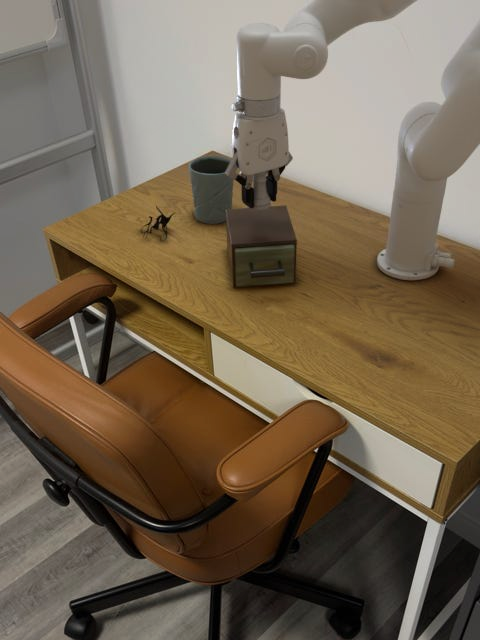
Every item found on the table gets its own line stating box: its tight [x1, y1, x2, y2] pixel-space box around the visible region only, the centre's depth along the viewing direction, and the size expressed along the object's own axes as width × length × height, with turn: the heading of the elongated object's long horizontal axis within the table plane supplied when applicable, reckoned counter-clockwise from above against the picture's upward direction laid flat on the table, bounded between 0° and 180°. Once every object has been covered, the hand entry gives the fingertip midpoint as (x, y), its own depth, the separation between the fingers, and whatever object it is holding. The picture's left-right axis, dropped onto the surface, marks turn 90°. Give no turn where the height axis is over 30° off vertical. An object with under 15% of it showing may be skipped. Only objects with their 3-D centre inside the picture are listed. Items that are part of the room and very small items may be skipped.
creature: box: [140, 204, 176, 242], centre depth 156 cm, size 8×5×8 cm
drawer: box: [235, 244, 295, 288], centre depth 140 cm, size 18×11×8 cm, turn 5°
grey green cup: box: [188, 155, 235, 225], centre depth 160 cm, size 10×10×12 cm
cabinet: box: [225, 204, 298, 288], centre depth 143 cm, size 15×13×10 cm
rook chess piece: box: [251, 171, 272, 211], centre depth 135 cm, size 4×4×8 cm
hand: (259, 201), depth 137 cm, fingers closed on rook chess piece, 4 cm apart
